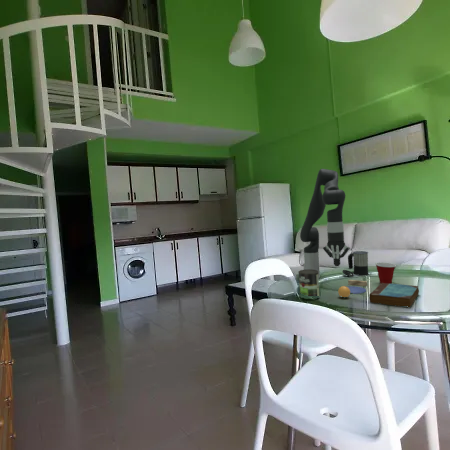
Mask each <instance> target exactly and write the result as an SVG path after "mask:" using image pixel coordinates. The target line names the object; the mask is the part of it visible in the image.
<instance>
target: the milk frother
mask: <svg viewBox="0 0 450 450" xmlns="http://www.w3.org/2000/svg"><path fill="white" fill-rule="evenodd" d="M347 261H348V262H347V263H348V264H347V265H348V269H349V270H347V269H343V270H342V273H343V275H345V276H347V277H354V276H361V277H364V276H369V252H368V251H367V250H366V251H365V250H356V251H352V253H349V254H348V255H347ZM350 270H353V271H350Z"/></svg>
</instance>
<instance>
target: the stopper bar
mask: <svg viewBox="0 0 450 450" xmlns="http://www.w3.org/2000/svg"><path fill="white" fill-rule="evenodd" d="M347 283H348V285H347V286H356V287H367V286H368V281H367V280H357V279H348V280H347Z"/></svg>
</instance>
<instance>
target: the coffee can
mask: <svg viewBox="0 0 450 450" xmlns="http://www.w3.org/2000/svg"><path fill="white" fill-rule="evenodd" d="M318 273H319V272H318V271H317V270H312V269H305V270H304V269H301V270H299V271H298V280H299V281H298V282H299V283H298V284H299V285H298V286H299V294H300V293H301V294H304V295H308V296H319V297H320V283H319V281H320V278H319V277H318Z"/></svg>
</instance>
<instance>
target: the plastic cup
mask: <svg viewBox="0 0 450 450" xmlns="http://www.w3.org/2000/svg"><path fill="white" fill-rule="evenodd" d="M375 267H376V271H377V276H378V280H379V285H380V284H381V283H389V284H393V279H394V274H395V273H394V272H395V269H396V267H397V265H396V264H394V263H390V262H375Z"/></svg>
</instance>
